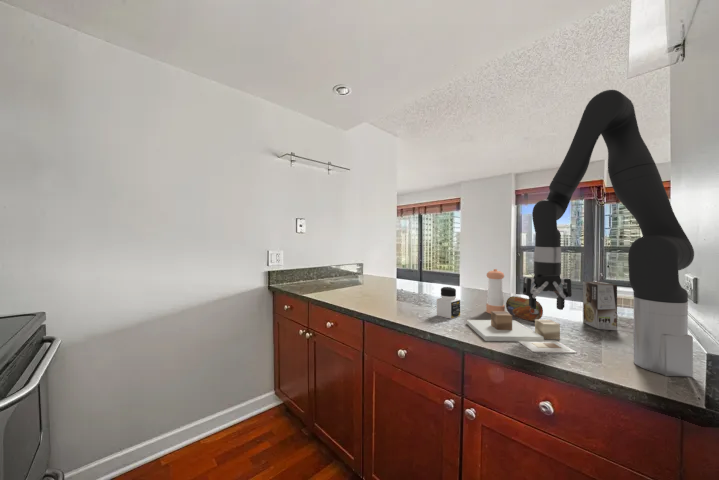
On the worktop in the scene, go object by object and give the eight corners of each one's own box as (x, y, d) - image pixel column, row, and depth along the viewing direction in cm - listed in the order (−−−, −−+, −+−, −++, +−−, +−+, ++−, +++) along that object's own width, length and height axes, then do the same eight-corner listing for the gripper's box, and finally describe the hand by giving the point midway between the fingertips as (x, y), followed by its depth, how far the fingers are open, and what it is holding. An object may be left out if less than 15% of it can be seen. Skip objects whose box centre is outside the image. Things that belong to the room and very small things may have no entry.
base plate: (543, 341, 88) (543, 337, 88) (485, 340, 88) (485, 336, 88) (514, 324, 106) (514, 320, 106) (466, 323, 106) (466, 319, 106)
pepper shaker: (493, 315, 118) (493, 270, 118) (482, 310, 125) (482, 268, 125) (508, 314, 120) (508, 269, 120) (496, 310, 127) (496, 268, 127)
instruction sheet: (576, 353, 79) (576, 351, 79) (533, 352, 79) (533, 350, 79) (555, 341, 88) (555, 340, 88) (516, 340, 88) (516, 339, 88)
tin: (505, 313, 121) (505, 294, 121) (510, 313, 122) (510, 294, 122) (538, 323, 106) (538, 301, 106) (544, 322, 108) (544, 301, 108)
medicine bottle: (451, 319, 113) (451, 289, 113) (436, 315, 118) (436, 287, 118) (460, 316, 117) (460, 287, 117) (445, 312, 123) (445, 285, 123)
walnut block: (512, 330, 94) (512, 315, 94) (497, 329, 95) (497, 315, 95) (505, 325, 99) (505, 311, 99) (491, 325, 100) (490, 311, 100)
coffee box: (618, 330, 98) (618, 284, 98) (597, 329, 99) (597, 284, 99) (601, 323, 107) (601, 281, 107) (582, 322, 108) (582, 280, 108)
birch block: (559, 339, 90) (559, 324, 90) (543, 339, 90) (543, 324, 90) (550, 334, 95) (550, 319, 95) (535, 334, 95) (535, 319, 95)
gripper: (531, 261, 89) (530, 311, 90) (577, 261, 88) (576, 312, 89) (519, 259, 97) (518, 305, 97) (562, 259, 96) (561, 306, 96)
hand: (546, 308), depth 93 cm, fingers open, 8 cm apart
